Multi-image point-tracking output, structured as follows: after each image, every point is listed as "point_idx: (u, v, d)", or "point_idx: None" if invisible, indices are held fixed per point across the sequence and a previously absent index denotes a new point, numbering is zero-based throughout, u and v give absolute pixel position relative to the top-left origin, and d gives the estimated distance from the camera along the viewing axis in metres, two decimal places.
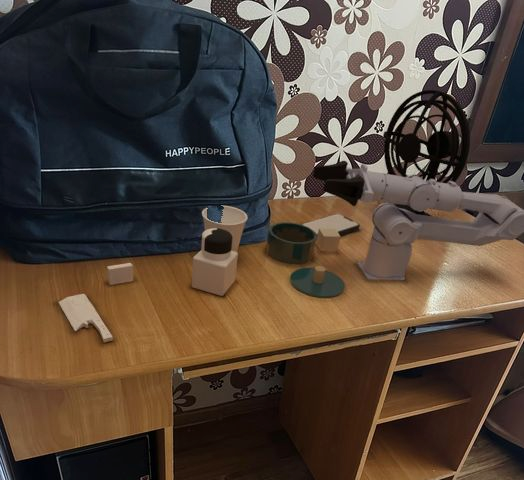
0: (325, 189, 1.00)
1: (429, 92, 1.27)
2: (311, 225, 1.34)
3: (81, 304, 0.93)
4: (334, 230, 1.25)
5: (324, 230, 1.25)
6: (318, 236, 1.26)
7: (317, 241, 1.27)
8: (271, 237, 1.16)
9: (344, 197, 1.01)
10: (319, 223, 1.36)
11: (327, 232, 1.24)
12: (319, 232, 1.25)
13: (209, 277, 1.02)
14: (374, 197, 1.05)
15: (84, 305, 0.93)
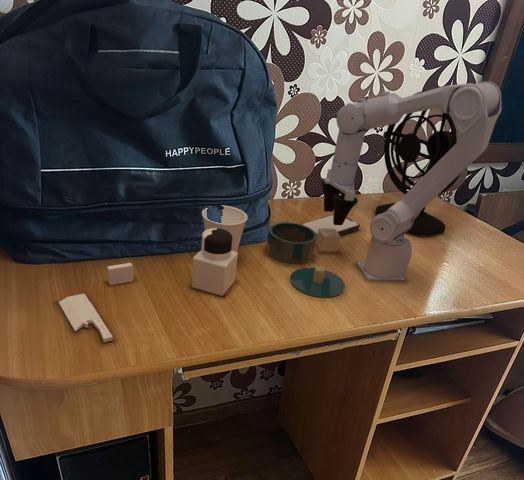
0: (341, 224, 1.19)
1: None
2: (311, 225, 1.34)
3: (81, 304, 0.93)
4: (334, 230, 1.25)
5: (324, 230, 1.25)
6: (318, 236, 1.26)
7: (317, 241, 1.27)
8: (271, 237, 1.16)
9: (349, 209, 1.16)
10: (319, 223, 1.36)
11: (327, 232, 1.24)
12: (319, 232, 1.25)
13: (209, 277, 1.02)
14: (353, 171, 1.13)
15: (84, 305, 0.93)
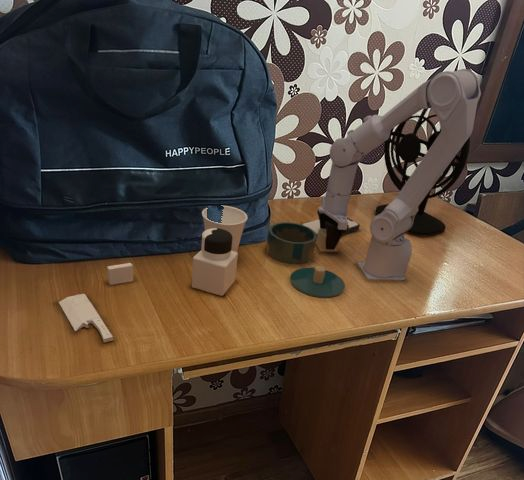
0: (333, 248, 1.24)
1: None
2: (311, 225, 1.34)
3: (81, 304, 0.93)
4: None
5: (324, 230, 1.25)
6: (318, 236, 1.26)
7: (317, 241, 1.26)
8: (271, 237, 1.16)
9: (340, 235, 1.21)
10: (319, 223, 1.36)
11: None
12: (319, 232, 1.25)
13: (209, 277, 1.02)
14: (346, 201, 1.17)
15: (84, 305, 0.93)
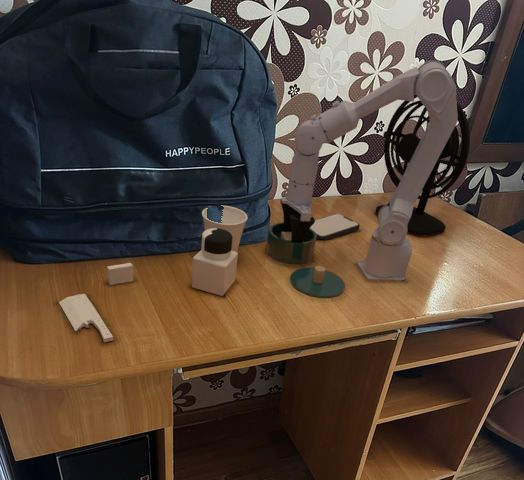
0: None
1: None
2: None
3: (81, 304, 0.93)
4: None
5: (286, 233, 1.19)
6: None
7: None
8: (271, 237, 1.16)
9: (306, 229, 1.13)
10: (319, 223, 1.36)
11: (289, 236, 1.18)
12: (281, 236, 1.20)
13: (209, 277, 1.02)
14: (310, 191, 1.10)
15: (84, 305, 0.93)
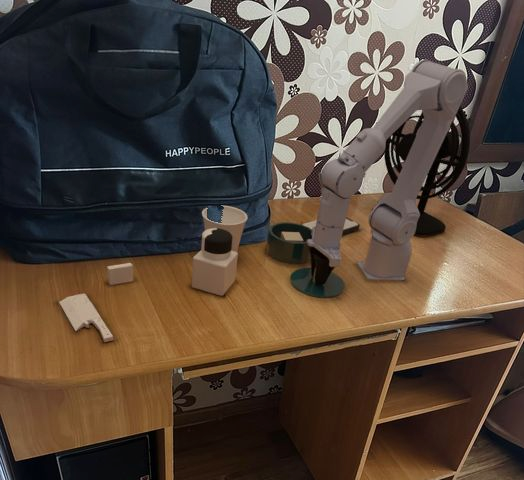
0: (323, 283, 1.10)
1: None
2: (311, 225, 1.34)
3: (81, 304, 0.93)
4: (297, 234, 1.20)
5: (286, 233, 1.19)
6: None
7: None
8: (271, 237, 1.16)
9: (331, 269, 1.07)
10: None
11: (289, 236, 1.18)
12: (281, 236, 1.20)
13: (209, 277, 1.02)
14: (339, 234, 1.02)
15: (84, 305, 0.93)
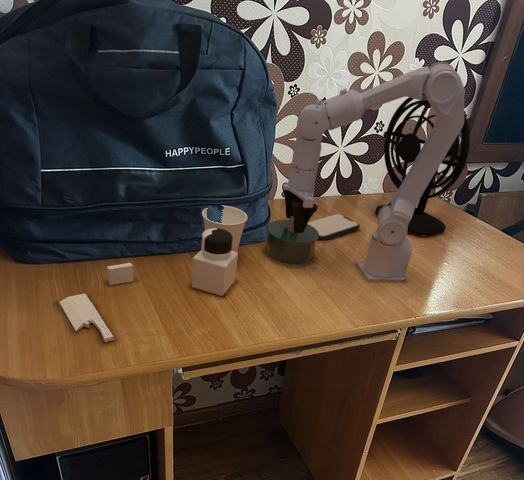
0: (301, 232, 1.14)
1: None
2: (311, 225, 1.34)
3: (81, 304, 0.94)
4: None
5: None
6: None
7: None
8: (271, 237, 1.16)
9: (309, 216, 1.11)
10: (319, 223, 1.36)
11: None
12: None
13: (209, 277, 1.02)
14: (312, 177, 1.08)
15: (85, 305, 0.93)
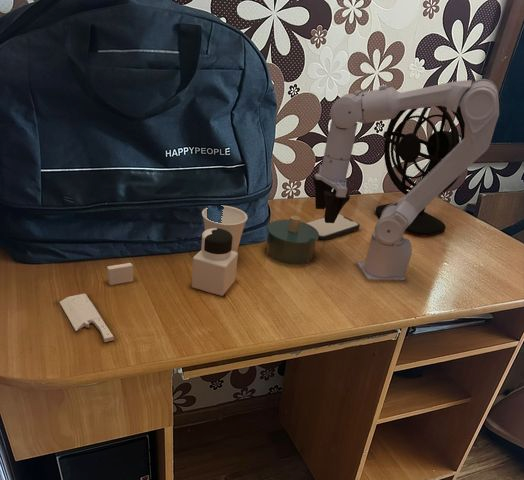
0: (332, 222, 1.14)
1: None
2: (311, 225, 1.34)
3: (82, 304, 0.94)
4: None
5: None
6: None
7: None
8: (271, 237, 1.16)
9: (341, 206, 1.11)
10: (319, 223, 1.36)
11: None
12: None
13: (209, 277, 1.02)
14: (345, 167, 1.08)
15: (85, 305, 0.93)
